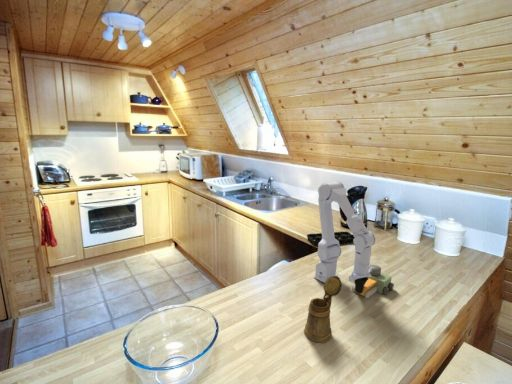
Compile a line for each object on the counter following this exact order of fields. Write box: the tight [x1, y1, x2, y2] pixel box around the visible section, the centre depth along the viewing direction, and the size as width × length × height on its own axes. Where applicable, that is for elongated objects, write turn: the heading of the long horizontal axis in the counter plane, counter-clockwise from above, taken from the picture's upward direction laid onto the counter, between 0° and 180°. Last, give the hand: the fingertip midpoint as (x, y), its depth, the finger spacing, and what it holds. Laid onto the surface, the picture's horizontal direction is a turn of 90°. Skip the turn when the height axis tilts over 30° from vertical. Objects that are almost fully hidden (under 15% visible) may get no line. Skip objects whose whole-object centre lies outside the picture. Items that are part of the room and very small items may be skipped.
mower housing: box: [351, 264, 395, 299], centre depth 124 cm, size 16×14×8 cm
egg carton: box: [306, 231, 355, 247], centre depth 177 cm, size 18×30×4 cm, turn 116°
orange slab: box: [353, 278, 377, 297], centre depth 122 cm, size 8×6×4 cm
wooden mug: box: [303, 275, 342, 344], centre depth 96 cm, size 9×14×18 cm, turn 130°
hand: (358, 292), depth 119 cm, fingers closed
